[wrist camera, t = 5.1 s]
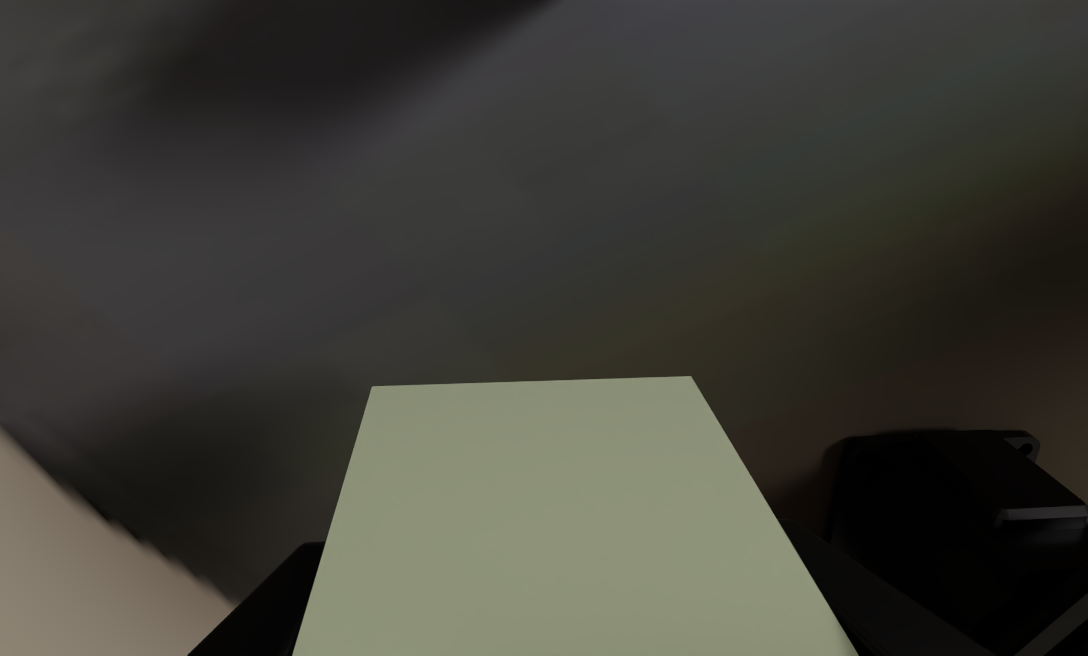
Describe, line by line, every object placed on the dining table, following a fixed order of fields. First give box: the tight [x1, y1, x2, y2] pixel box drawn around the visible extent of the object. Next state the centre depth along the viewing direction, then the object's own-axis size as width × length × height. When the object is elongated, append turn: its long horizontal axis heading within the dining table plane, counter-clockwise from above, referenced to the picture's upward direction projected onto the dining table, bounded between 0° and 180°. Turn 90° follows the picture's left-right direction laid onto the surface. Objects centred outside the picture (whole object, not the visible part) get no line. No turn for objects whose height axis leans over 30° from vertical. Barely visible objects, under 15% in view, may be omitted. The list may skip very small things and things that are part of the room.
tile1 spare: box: [292, 376, 859, 656], centre depth 8 cm, size 2×5×8 cm, turn 89°
